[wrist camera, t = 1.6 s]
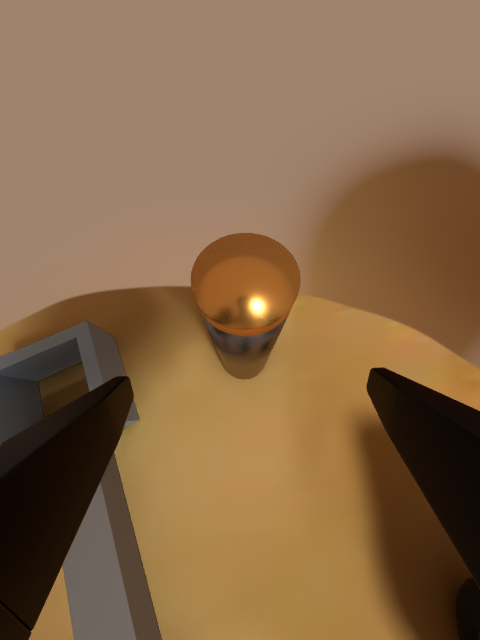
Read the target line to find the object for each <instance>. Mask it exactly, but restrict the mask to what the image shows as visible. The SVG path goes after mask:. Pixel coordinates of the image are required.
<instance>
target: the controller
mask: <svg viewBox="0 0 480 640" xmlns="http://www.w3.org/2000/svg"><path fill="white" fill-rule="evenodd" d="M456 614H457V622H458V631H459V635H460V639H461V640H480V588H479V586H478V585H477V583H476V581H475V580H474V578H473V577H472V578H468V579H467V580H466V581H465V582H464V583H463V584H462V585H461V587H460V588H459V591H458V594H457V600H456Z"/></svg>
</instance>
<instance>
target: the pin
mask: <svg viewBox="0 0 480 640" xmlns="http://www.w3.org/2000/svg"><path fill="white" fill-rule="evenodd" d="M191 287H192V291H193V294H194V297H195V299H196V301H197V304H198V306H199V309H200V311H201V313H202V316H203V318H204V321H205V323H206V325H207V328H208V330H209V333H210V335H211V337H212V340H213V342H214V344H215V347H216V349H217V352H218V354H219V356H220V359H221V361H222V364H223V366H224V368H225V370H226V371H227V372H228V373H229V374H230V375H232V376H233V377H235V378H238V379H250V378H253V377H255V376H256V375H258V374H259V373H260V372H261V371H262V369H263V368H264V366H265V364H266V362H267V360H268V357H269V355H270V353H271V351H272V349H273V347H274V345H275V342H276V340H277V338H278V336H279V334H280V332H281V330H282V328H283V325H284V323H285V321H286V319H287V317H288V315H289V313H290V310H291V308H292V306H293V304H294V302H295V300H296V298H297V295H298V292H299V288H300V271H299V268H298V265H297V263H296V261H295V259H294V257H293V256H292V255H291V253H290V252H289V251H288V250H287V249H286V248H285V247H284V246H283V245H281V244H280V243H279V242H277V241H275V240H273V239H271V238H269V237H266V236H263V235H259V234H253V233H238V234H232V235H228V236H225V237H222V238H220V239H218V240H216V241H214V242H213V243H211V244H210V245H208V246H207V247H206V248H205V249H204V250H203V251H202V252H201V253H200V255H199V256H198V258H197V259H196V261H195V263H194V266H193V269H192V273H191Z"/></svg>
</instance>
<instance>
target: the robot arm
mask: <svg viewBox="0 0 480 640" xmlns="http://www.w3.org/2000/svg"><path fill="white" fill-rule="evenodd" d="M367 392H368V394H369V396H370V399H371V401H372V403H373V405H374V407H375V409H376V411H377V413H378V416H379V418H380V420H381V422H382V424H383V426H384V428H385V430H386V432H387V434H388V435H389V437H390V439H391V441H392V442H393V444H394V446H395V447H396V449H397V451H398V452H399V454H400V456H401V457H402V459H403V461H404V462H405V464H406V466H407V467H408V469H409V471H410V472H411V474H412V476H413V477H414V479H415V481H416V482H417V484H418V486H419V487H420V489H421V491H422V492H423V494H424V496H425V498H426V499H427V501H428V503H429V504H430V506H431V508H432V509H433V511H434V513H435V514H436V516H437V518H438V519H439V521H440V523H441V524H442V526H443V528H444V529H445V531H446V533H447V534H448V536H449V538H450V539H451V541H452V543H453V544H454V546H455V548H456V549H457V551H458V553H459V555H460V556H461V558H462V560H463V561H464V563H465V565H466V566H467V568H468V570H469V571H470V573H471V575H472V576H473V578H474V580H475V581H476V583H477V585H478V586H479V588H480V411H478V410H476V409H474V408H472V407H470V406H467V405H465V404H463V403H461V402H459V401H456V400H454V399H452V398H450V397H448V396H445V395H443V394H441V393H439V392H437V391H434V390H432V389H430V388H428V387H426V386H423V385H421V384H419V383H417V382H415V381H412V380H410V379H408V378H406V377H404V376H401V375H399V374H397V373H395V372H393V371H390V370H388V369H386V368H372V369H371V370H370V373H369V378H368V382H367ZM133 398H134V394H133V390H132V386H131V382H130V379H129V377H127V376H116V377H114V378H112V379H111V380H109V381H107V382H105V383H104V384H102V385H100V386H99V387H97V388H95V389H93V390H92V391H90V392H88V393H87V394H85V395H83V396H81V397H80V398H78V399H76V400H75V401H73V402H71V403H69V404H68V405H66V406H64V407H62V408H61V409H59V410H57V411H56V412H54V413H52V414H50V415H49V416H47V417H45V418H44V419H42V420H40V421H38V422H37V423H35V424H33V425H32V426H30V427H28V428H26V429H25V430H23V431H21V432H19V433H18V434H16V435H14V436H13V437H11V438H9V439H7V440H6V441H4V442H2V443H1V445H0V640H29V637H30V635H31V631H32V630H33V628H34V626H35V624H36V622H37V619H38V617H39V615H40V613H41V611H42V608H43V606H44V604H45V602H46V600H47V597H48V595H49V593H50V591H51V589H52V587H53V584H54V582H55V580H56V578H57V576H58V573H59V571H60V569H61V567H62V565H63V562H64V560H65V558H66V556H67V554H68V552H69V549H70V547H71V545H72V543H73V541H74V538H75V536H76V534H77V532H78V530H79V527H80V525H81V523H82V521H83V519H84V517H85V514H86V512H87V510H88V508H89V506H90V503H91V501H92V499H93V497H94V495H95V492H96V490H97V488H98V486H99V484H100V482H101V479H102V477H103V475H104V473H105V471H106V468H107V466H108V464H109V462H110V460H111V457H112V455H113V453H114V451H115V449H116V446H117V444H118V442H119V440H120V437H121V434H122V431H123V428H124V425H125V422H126V420H127V417H128V414H129V411H130V408H131V405H132V402H133Z"/></svg>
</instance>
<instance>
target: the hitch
mask: <svg viewBox="0 0 480 640" xmlns="http://www.w3.org/2000/svg"><path fill="white" fill-rule="evenodd" d="M79 362H82V363H83V367H84V371H85V375H86V380H87V384H88V388H89V392H90V391H92V390H93V389H95V388H97V387H99V386H100V385H102V384H104V383H105V382H107V381H109V380H111V379H112V378H114V377H116V376H126V374H125V371H124V368H123V364H122V361H121V358H120V355H119V351H118V348H117V345H116V342H115V338H114V336H112V335H111V334H109V333H107V332H105V331H104V330H102V329H100V328H99V327H97V326H95V325H94V324H92V323H90V322H88V321H84V322H82V323H79V324H77V325H75V326H72V327H70V328H68V329H65V330H63V331H60V332H58V333H56V334H53V335H51V336H49V337H46V338H44V339H41V340H39V341H37V342H34V343H32V344H30V345H27V346H25V347H22V348H20V349H18V350H15V351H13V352H11V353H8V354H6V355H3V356H1V357H0V445H1V443H2V442H4V441H6V440H7V439H9V438H11V437H13V436H14V435H16V434H18V433H19V432H21V431H23V430H25V429H26V428H28V427H30V426H32V425H33V424H35V423H37V422H38V421H40V420H42V419H44V417H43V410H42V404H41V398H40V392H39V386H38V381H39V380H42V379H44V378H46V377H48V376H50V375H53V374H55V373H57V372H59V371H62V370H64V369H66V368H68V367H71V366H73V365H75V364H77V363H79ZM139 420H140V419H139V416H138V413H137V410H136V406H135V403H134V400H133V402H132V405H131V408H130V411H129V414H128V417H127V420H126V422H125V425H124V428H125V427H127V426H129V425H131V424H133V423H135V422H137V421H139ZM124 428H123V429H124ZM63 571H64V577H65V583H66V590H67V596H68V603H69V609H70V616H71V622H72V628H73V635H74V640H162V639H161V635H160V631H159V627H158V623H157V620H156V616H155V612H154V608H153V604H152V600H151V596H150V592H149V588H148V584H147V580H146V577H145V573H144V569H143V565H142V561H141V557H140V553H139V549H138V545H137V541H136V537H135V534H134V530H133V526H132V522H131V518H130V514H129V510H128V506H127V502H126V498H125V494H124V491H123V487H122V483H121V479H120V475H119V471H118V467H117V463H116V459H115V455H114V453H113V455H112V457H111V460H110V462H109V464H108V466H107V468H106V471H105V473H104V475H103V477H102V479H101V482H100V484H99V486H98V488H97V490H96V492H95V495H94V497H93V499H92V501H91V503H90V506H89V508H88V510H87V512H86V514H85V517H84V519H83V521H82V523H81V525H80V527H79V530H78V532H77V534H76V536H75V538H74V541H73V543H72V545H71V547H70V549H69V552H68V554H67V556H66V558H65V560H64V562H63Z"/></svg>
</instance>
